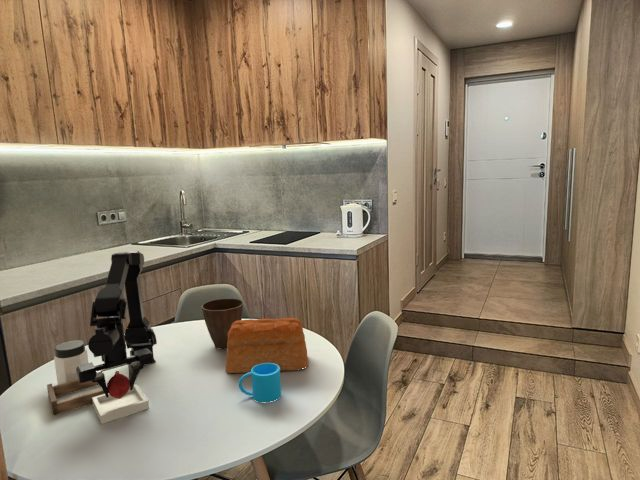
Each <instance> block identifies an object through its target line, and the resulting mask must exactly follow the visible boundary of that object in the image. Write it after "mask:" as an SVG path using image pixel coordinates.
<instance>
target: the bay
mask: <svg viewBox="0 0 640 480" xmlns="http://www.w3.org/2000/svg"><path fill="white" fill-rule="evenodd" d="M102 374H103V376H104V378H105V379H106V377H105V376H106V375H105V373H104V372H102ZM97 386H100V385H99V384H98V383H97V382H92V380H91V381H87V382H84V383H80V382H79V379H78V380H75V381H71V382H67V383H64V384H60V385H58V384H57V385H53V384H52V383H48V384H46V388H47V396H48V400H49V404H50V408H51V412H52V415H53V416H57V415H61V414H63V413H68V412H71V411H73V410H76V409H77V410H78V409H81V408H84V407H87V406H90V405H93V401H92V397H95V396H99V395H102V394H105V393H104V391H103V389H102V388H101V389H97V390H94V391H90V392H87V393H84V394H81V395H76V396H73V397H70V398H67V399H63V400H59V401H58V400H57V398H58V397H62V396H65V395H69V394H73V393H76V392H79V391H83V390H86V389H90V388H92V387H97Z"/></svg>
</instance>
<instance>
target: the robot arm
mask: <svg viewBox="0 0 640 480" xmlns="http://www.w3.org/2000/svg"><path fill="white" fill-rule="evenodd" d="M110 260H111V264H110V267H109V271H108V273H107V274H108V275H107V278H106V281H105V285H104V287H103V288H102V289H100V290H99V291H98V292H97V294H96V295H95V298H94V300H93V301H92V303H91V305H92V306H91V312H90V313H91V314H90V322H89V326H90V327H96V328H95V329H94V332H95V333H94V334H93V335H92V336H90V338H89V341H88V344H87V347H88V350H89V351H90V352H91V353H92V354H93V357H94V358H97V357H101V362H103V363H102V364H98V365H94V363H93V361H91V362H88V363H87V364H83V365H79V366H78V367H77V368H76V373H77V377H78V379H79V382H80V383H84V382H87V381H91V380H92V382H97V383H98V384H99V385H98V386H99V387H100V388H101V389H103V391H104V393H105V395H106V397H107V398H108V390H107V383H106V382H107V381H106V377H105V378H104V376H103V374H102V373H104V372H106V371H110V370H113V369H117V368H120V367H121V368H122V367H123V366H124V367H125V366H128V379H129V382H130V390H132V389H133V386H134V385H135V383H136V380H137V378H138V375H139V373H140V371H141V370H142V369H145V368H144V367H145V366H148V365H151V364H154V363H156V360H155V356H154V346H155V345H157V344H158V342H157V336H156V333H155V332H154V329H153V328H152V327H151V326H152V325H151V322H150V321H149V319H148V318H146V317H145V312H144V303H143V297H142V290H141V289H142V288H141V280H140V275H141V272H142V271H143V269H144V265H145V257H144V254H143V253H142V252H140V250H131V251H130V250H128V251H127V250H126V251H118V252H115V253H111V258H110ZM124 289H125V296H124V293H123V292H124ZM125 297H126V298H125ZM127 312H128V318H129V322H128V324H127V326H126V328H124V325H125V324H124V320H126V318H127ZM128 349H131V350H130V351H129V356H128V355H127V350H128Z"/></svg>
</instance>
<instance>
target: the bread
mask: <svg viewBox="0 0 640 480" xmlns="http://www.w3.org/2000/svg"><path fill="white" fill-rule="evenodd" d="M303 326H304V325H303V323H302V321H301V319H299V318H296V317H281V318H258V319H242V320H238V321H235V322H234V323H233V324H232V326H231V329H230V330H229V331H228V333H227V334H228V342H227V349H226V356H225V357H226V361H225V372H226V371H227V372H226V373H228V374H232V373H233V374H235V373H236V374H238V373H249V372H251V369H252V368H253V367H254V366H256V365H258V364H262V363H274V364H277V365H278V366H279V367H280V372H285V370H286V371H299V370H298V369H302V368H305V367H306V366H307V367H308V366H309V364H308V363H309V361H308V348H307V342H306V336H305V334H304V329H303ZM307 367H306V368H307ZM306 368H305V369H306Z"/></svg>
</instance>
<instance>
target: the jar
mask: <svg viewBox="0 0 640 480" xmlns="http://www.w3.org/2000/svg"><path fill="white" fill-rule="evenodd" d="M54 354H55V355H54V356H53V359H54V365H55V366H54V368H55V375H56V384H57V385H60V384H64V383H67V382H71V381H75V380H78V377H77V373H76V368H77V367H78V366H79V365H83V364H87V363H89V355H88V350H87V349H86V345H85V341H84V340H79V339H78V340H77V339H74V340H69V341H65V342H62V343H59V344H58V345H56V346H55V347H54Z"/></svg>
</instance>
